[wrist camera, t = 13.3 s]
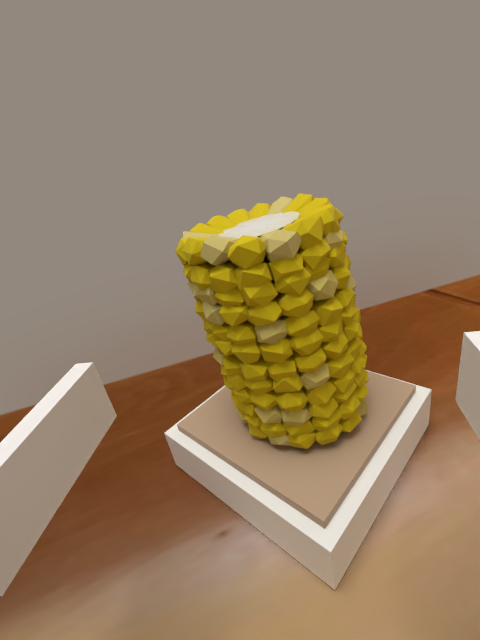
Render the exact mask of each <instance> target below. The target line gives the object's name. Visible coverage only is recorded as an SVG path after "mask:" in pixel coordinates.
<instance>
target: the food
mask: <svg viewBox="0 0 480 640" xmlns="http://www.w3.org/2000/svg"><path fill="white" fill-rule="evenodd" d="M342 218H343V215H342V214H341V212H340V211H339V210H338V209H336V208H335V207H334V206H332V205H331V203H330V202H329V200H328V198H315V199H314V196H313V195H307V194H299V195H298V196H297V197H296V198H295V199H294V200H293V199H290V198H287V197H283V196H282V197H280V198H279V199H278V200H277V201H276V202H274V203H273V204H272V206H270V205H269V204H267V203H265V204H264V203H258V204H257V205H256V206H255V207H254V208H253V209H252V210H251V211H250V212H249V213H248V212H247V211H246V210H245V209H240V210H236V211H234V212H233V213H231V214H229V215H228V216H227V217H223V216H220V215H218V216H215V217H212V218H211V219H210V220H209V222H208V223H207V225H205V224H202V223H199V224H197V225H196V226H195V227H194V228H193V229H191V230H190V232H185V231H184V232H183V238H181V240H180V242H179V244H178V246H177V249H176V251H175V252H176V253H177V255H178V257H179V259H180V260H181V262H182V264H183V265H184V274H185V276H186V277H187V278H188V280H189V282H188V286H189V288H190V290H191V291H192V293H193V295H194V297H195V299H196V313H197V314H198V315H200V316H201V317H202V319H203V320H204V330H205V331H207V335H206V338H207V340H208V341H209V342H210V343H211V344H212V345H213V346H215V347H216V348H215V351H214V354H213V357H214V358H215V359H216V360H217V361H218V362H219V363H220V364H221V365H222V367H221V374H223V375H224V382H225V386H226V387H227V388H229V389H230V390H232V391H231V398H232V400H233V401H234V406H235V407H236V408H237V413H238V414H239V416H240V418H241V420H242V422H243V423H248V424H249V434H251V435H253V436H255V437H258V438H260V439H263V438H267V436H268V438H269V441H270V443H271V444H275V445H289V446H292V447H298V448H304V449H308V448H309V447H310V446H311V445H312V444H313V443H314V442H315V441H316V440H317V442H318V443H320V444H321V445H324V444H327V443H331V442H334V441H336V440H337V438H338V437H339V435H340V433H341V432H351V431H352V430H353V429H354V428H355V427H356V425H357V424H358V423H359V422H360V421H361V420H362V418H361V417H360V416H362V415H364V414H366V413H367V405H366V395H367V394H368V393H369V390H368V388H367V386H366V383H367V382H368V381H369V378H368V372H367V371H366V370H365V364H366V359H367V356H366V355H365V354H364V352H365V350H366V349H367V347H366V345H365V344H364V342H363V341H362V339H361V338H362V328H361V326H360V323H359V322H360V320H361V318H360V310H359V309H358V308H357V307H356V306H355V297H356V295H355V293H354V291H355V288H356V283H355V281H354V278H353V276H352V275H351V274H350V272H349V271H350V265H351V262H350V259H349V257H348V255H345V252H346V244H347V238H346V234H345V231H342V230H340V224H339V223H340V221H341V220H342Z"/></svg>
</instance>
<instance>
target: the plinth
mask: <svg viewBox="0 0 480 640" xmlns="http://www.w3.org/2000/svg"><path fill="white" fill-rule="evenodd" d="M366 371H367V370H366ZM367 372H368V378H369V381H368V382H367V383H366V386H367V388H368V390H369V393H368V394H367V395H366V405H367V413H366V414H364V415H362V416H360V417H361V418H362V420H361V421H360V422H359V423H358V424H357V425H356V427H355V428H354V429H353V430H352V431H351V432H341V433H340V435H339V437H338V438H337V440H336V441H334V442H331V443H327V444H324V445H321V444H320V443H318V442H317V440H316V441H315V442H314V443H313V444H312V445H311V446H310V447H309V448H308V449H304V448H298V447H292V446H289V445H275V444H271V443H270V441H269V438H268V436H267V438H263V439H260V438H258V437H255V436H253V435H251V434H249V424H248V423H243V422H242V420H241V418H240V416H239V414H238V413H237V408H236V407H235V406H234V401H233V400H232V398H231V391H232V390H230V389H229V388H227V387H226V386H224V387H222V388H221V389H220V390H218V391H217V392H216V393H215V394H213V395H212V396H211V397H210V398H208V399H207V400H206V401H204V402H203V403H202V404H201V405H199V406H198V407H197V408H196V409H194V410H193V411H192V412H190V413H189V414H188V415H187V416H185V417H184V418H183V419H182V420H180V421H179V422H178V423H176V424H175V425H174V426H173V427H171V428H170V429H169V430H167V431H166V432H165V433H164V434H165V436H166V439H167V442H168V444H169V447H170V450H171V452H172V455H173V458H174V460H175V463H176V465H177V466H179V467H180V468H181V469H182V470H184V471H185V472H186V473H187V474H189V475H190V476H191V477H192V478H194V479H195V480H196V481H197V482H199V483H200V484H201V485H203V486H204V487H205V488H206V489H208V490H209V491H210V492H211V493H213V494H214V495H215V496H216V497H218V498H219V499H220V500H221V501H223V502H224V503H225V504H227V505H228V506H229V507H230V508H232V509H233V510H234V511H235V512H237V513H238V514H239V515H240V516H242V517H243V518H244V519H245V520H247V521H248V522H249V523H250V524H252V525H253V526H254V527H256V528H257V529H258V530H259V531H261V532H262V533H263V534H264V535H266V536H267V537H268V538H269V539H271V540H272V541H273V542H274V543H276V544H277V545H278V546H280V547H281V548H282V549H283V550H285V551H286V552H287V553H288V554H290V555H291V556H292V557H293V558H295V559H296V560H297V561H298V562H300V563H301V564H302V565H304V566H305V567H306V568H307V569H309V570H310V571H311V572H312V573H314V574H315V575H316V576H317V577H319V578H320V579H321V580H322V581H324V582H325V583H326V584H328V585H329V586H330V587H331V588H333V589H334V590H336V588H337V586H338V584H339V583H340V581H341V579H342V577H343V576H344V574H345V572H346V570H347V569H348V567H349V565H350V563H351V561H352V560H353V558H354V556H355V554H356V553H357V551H358V549H359V547H360V545H361V544H362V542H363V540H364V538H365V537H366V535H367V533H368V531H369V530H370V528H371V526H372V524H373V522H374V521H375V519H376V517H377V515H378V514H379V512H380V510H381V508H382V507H383V505H384V503H385V501H386V499H387V498H388V496H389V494H390V492H391V491H392V489H393V487H394V485H395V483H396V482H397V480H398V478H399V476H400V475H401V473H402V471H403V469H404V468H405V466H406V464H407V462H408V460H409V459H410V457H411V455H412V453H413V452H414V450H415V448H416V446H417V445H418V443H419V441H420V439H421V437H422V436H423V434H424V432H425V430H426V429H427V427H428V425H429V414H430V401H431V389H428V388H425V387H421V386H418V385H415V384H411V383H408V382H404V381H401V380H398V379H394V378H391V377H388V376H384V375H381V374H378V373H374V372H371V371H367Z"/></svg>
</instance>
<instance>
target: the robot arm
mask: <svg viewBox="0 0 480 640" xmlns="http://www.w3.org/2000/svg"><path fill="white" fill-rule="evenodd" d="M456 402H457V404H458V406H459V407H460V409H461V411H462V412H463V414H464V416H465V417H466V419H467V420H468V422H469V424H470V425H471V427H472V429H473V430H474V432H475V434H476V435H477V437H478V439H479V440H480V331H476V332H464V335H463V343H462V351H461V360H460V368H459V376H458V384H457V393H456ZM116 416H117V415H116V413H115V411H114V409H113V406H112V404H111V402H110V400H109V397H108V395H107V393H106V391H105V388H104V386H103V384H102V382H101V379H100V377H99V375H98V373H97V371H96V368H95V366H94V364H93V363H81V364H75V365H74V366H73V368H71V370H70V371H69V372H68V373H67V374H66V375H65V376H64V377H63V378H62V379H61V380H60V381H59V382H58V383H57V384H56V385H55V386H54V387H53V389H51V390H50V391H49V392H48V394H47V395H46V396H45V397H44V398H43V399H42V400H41V401H40V402H39V403H38V404H37V405H36V406H35V407H34V408H33V409H32V410H31V411H30V412H29V413H28V414H27V415H26V416H25V418H24V419H23V420H22V421H21V422H20V423H19V424H18V425H17V426H16V427H15V428H14V429H13V430H12V431H11V432H10V433H9V434H8V435H7V436H6V437H5V438H4V439H3V440H2V442H1V443H0V597H2V596H3V594H4V593H5V591H6V590H7V588H8V586H9V585H10V583H11V582H12V580H13V579H14V577H15V575H16V574H17V572H18V571H19V569H20V567H21V566H22V564H23V563H24V561H25V560H26V558H27V556H28V555H29V553H30V552H31V550H32V549H33V547H34V545H35V544H36V542H37V541H38V539H39V538H40V536H41V534H42V533H43V531H44V530H45V528H46V527H47V525H48V523H49V522H50V520H51V519H52V517H53V515H54V514H55V512H56V511H57V509H58V508H59V506H60V504H61V503H62V501H63V500H64V498H65V497H66V495H67V493H68V492H69V490H70V489H71V487H72V486H73V484H74V482H75V481H76V479H77V478H78V476H79V475H80V473H81V471H82V470H83V468H84V467H85V465H86V463H87V462H88V460H89V459H90V457H91V456H92V454H93V452H94V451H95V449H96V448H97V446H98V445H99V443H100V441H101V440H102V438H103V437H104V435H105V434H106V432H107V430H108V429H109V427H110V426H111V424H112V423H113V421H114V419H115V418H116Z"/></svg>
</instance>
